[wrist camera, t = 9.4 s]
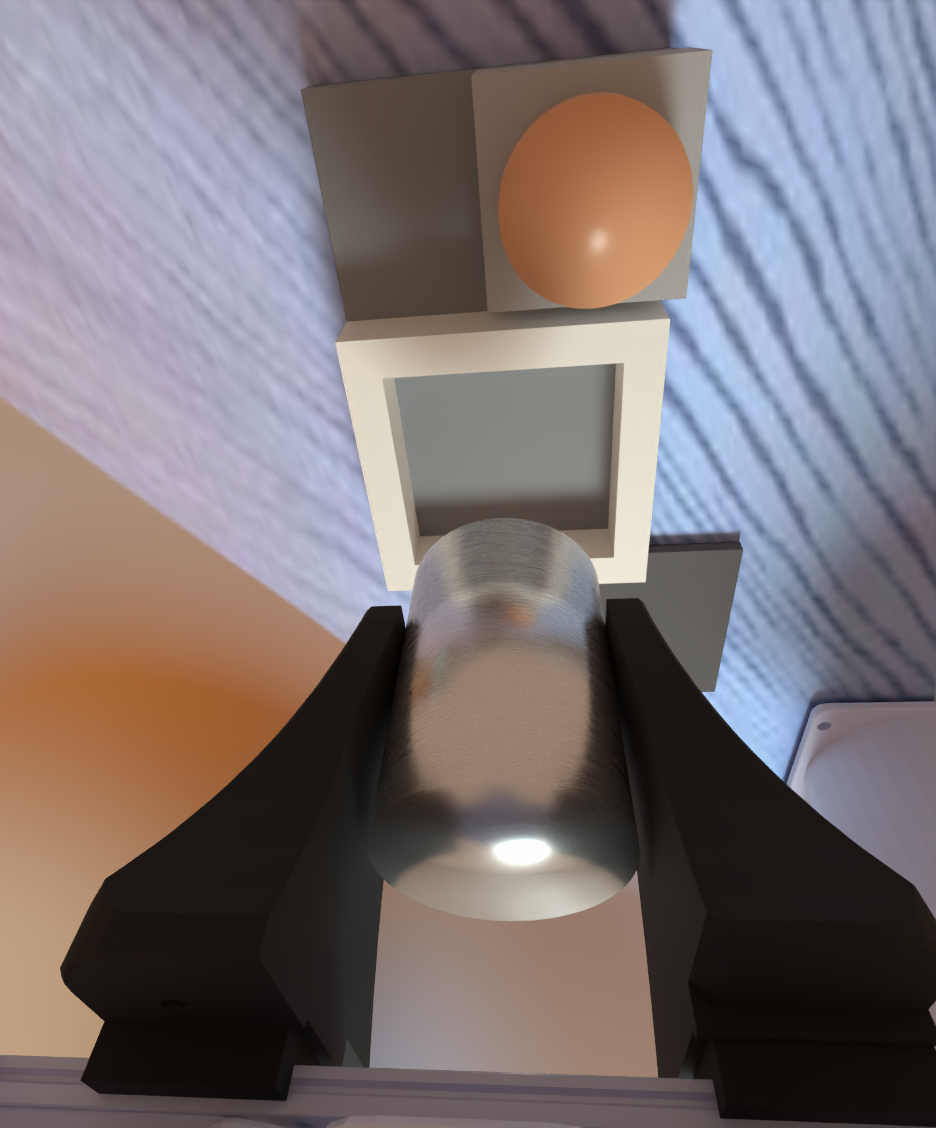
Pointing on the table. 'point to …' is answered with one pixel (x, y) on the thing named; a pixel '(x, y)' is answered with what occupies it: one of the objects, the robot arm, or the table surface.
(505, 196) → the button
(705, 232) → the table surface
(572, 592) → the billet
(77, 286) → the table surface
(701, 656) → the mat
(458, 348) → the station
